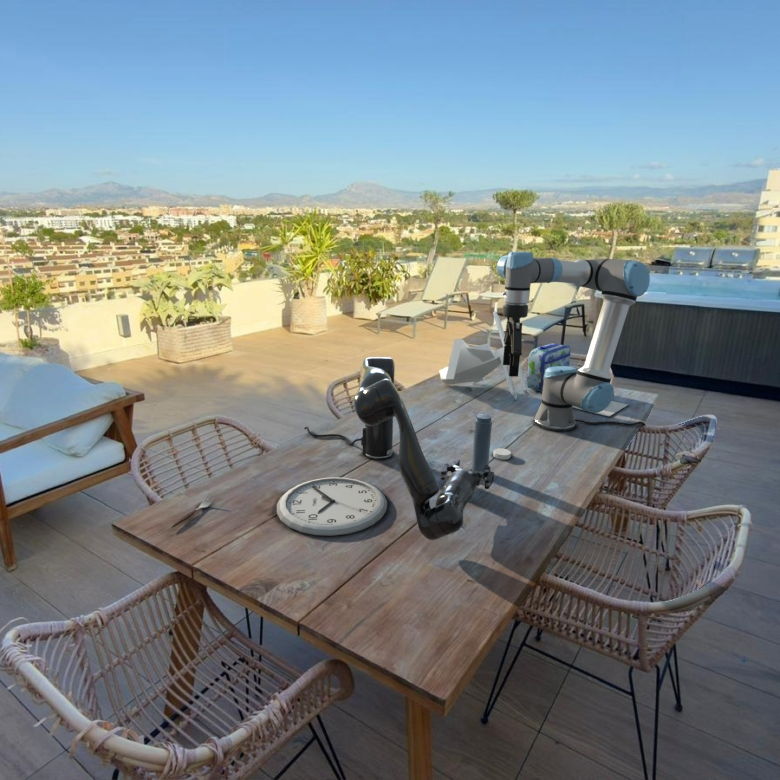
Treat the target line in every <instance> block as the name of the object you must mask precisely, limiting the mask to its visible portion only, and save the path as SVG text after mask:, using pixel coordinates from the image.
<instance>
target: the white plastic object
mask: <svg viewBox="0 0 780 780" xmlns="http://www.w3.org/2000/svg"><path fill="white" fill-rule="evenodd" d="M492 315H493V319H494V321H495V324H496V325H495V326H496V328H497V332H498V335H499V338H500V342H501V345H502V347H500V348H498V349H496V350H495V349H493V348H492V347H491V346H490V344H489V343H488V342H487V343H483V344H479V345H473V346H469V345H468V343H466V342H465V340H464V339H463V338H460V339H458V338H454V340H453V344H452V349H451V353H450V357H449V362H448V366H446V367H444V368H442V369H440V370H439V371H438V372H439V376H440V381H442V383H443V384H444V385H445V386H449V385H458V384H467V383H468V384H469V383H473V384H477V383H480V382H482V381H484V378H485V377H486V376H487V375H489V374H490V373H492V372H494V371H495V370H496V369H497V368H499V367H500V366H502V370H503V373H504V376H505V380H506V383H507V386H508V390H509V393H510V394H511V395H512V397H513V398H514V399H515V400H517V392H516V391H517V390H516V388H515V385H514V381H513V378H512V376H509V365H503V356H504V345H505V344H504V336H505V331H504V328H503V325H502V321H501V318H500V315H499V314H498V312H497V311H496V310H495V311H492ZM522 368H523V367H522V366H521V362H520V361H519V371H518V380H519V382H520V385H521V389H522V391H523V393H524V395H525V396H526V397H528V396H531V395H530V389H529V388H528V387H527V384H526V381H527V380H526V378H525V375H524V371H523V369H522Z"/></svg>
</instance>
